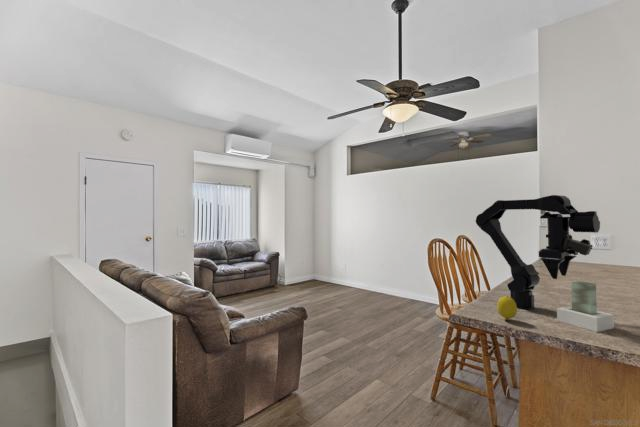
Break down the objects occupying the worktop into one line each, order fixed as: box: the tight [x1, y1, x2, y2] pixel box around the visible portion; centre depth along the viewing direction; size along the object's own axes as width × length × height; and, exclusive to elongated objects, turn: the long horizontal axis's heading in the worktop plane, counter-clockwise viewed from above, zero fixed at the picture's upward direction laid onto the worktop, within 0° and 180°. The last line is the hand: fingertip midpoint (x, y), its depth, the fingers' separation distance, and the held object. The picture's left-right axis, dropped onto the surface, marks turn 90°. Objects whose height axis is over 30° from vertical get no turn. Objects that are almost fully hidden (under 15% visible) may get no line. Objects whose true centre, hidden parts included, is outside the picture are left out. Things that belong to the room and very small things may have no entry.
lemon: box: [496, 295, 518, 321], centre depth 98 cm, size 6×6×8 cm
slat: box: [571, 280, 598, 315], centre depth 94 cm, size 5×3×13 cm, turn 21°
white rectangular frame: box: [556, 305, 615, 333], centre depth 94 cm, size 11×9×4 cm
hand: (559, 277), depth 102 cm, fingers open, 9 cm apart
